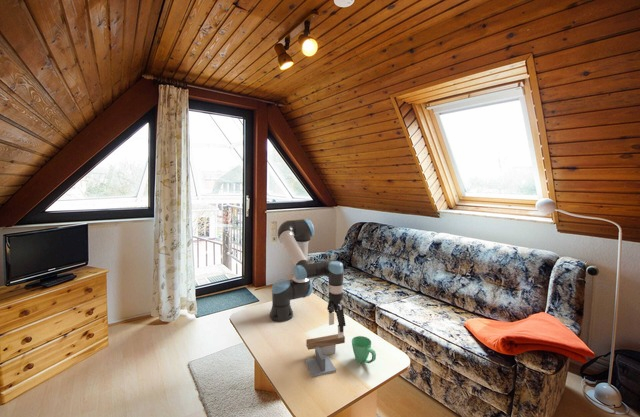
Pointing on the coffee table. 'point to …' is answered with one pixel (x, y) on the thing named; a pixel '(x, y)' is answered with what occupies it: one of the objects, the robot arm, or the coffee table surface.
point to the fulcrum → (319, 364)
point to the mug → (362, 349)
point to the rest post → (328, 349)
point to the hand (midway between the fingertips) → (335, 330)
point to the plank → (324, 341)
